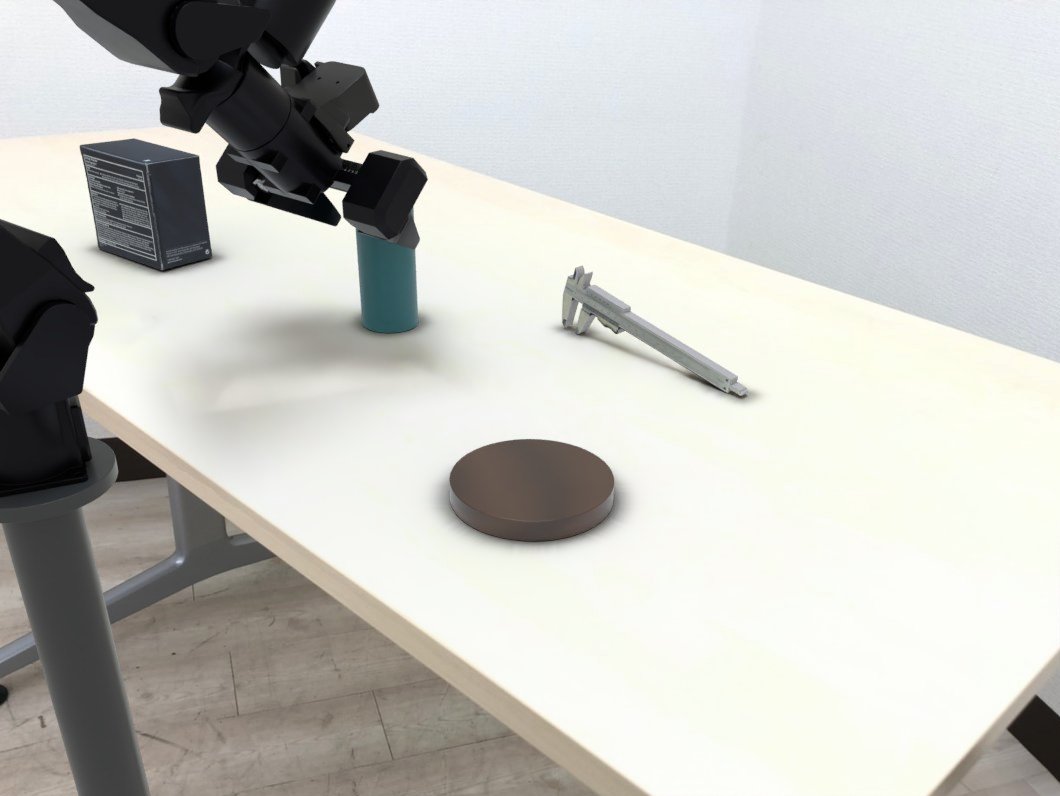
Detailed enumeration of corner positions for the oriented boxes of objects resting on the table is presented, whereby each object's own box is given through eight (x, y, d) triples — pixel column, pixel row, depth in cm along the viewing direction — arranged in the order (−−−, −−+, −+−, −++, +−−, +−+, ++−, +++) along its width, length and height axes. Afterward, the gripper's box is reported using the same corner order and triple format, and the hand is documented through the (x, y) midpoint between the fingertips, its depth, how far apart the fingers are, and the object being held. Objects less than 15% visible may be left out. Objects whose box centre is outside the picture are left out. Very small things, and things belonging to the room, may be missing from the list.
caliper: (560, 329, 97) (562, 263, 94) (568, 326, 98) (571, 261, 95) (741, 399, 86) (750, 328, 83) (748, 395, 87) (757, 324, 84)
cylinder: (371, 336, 92) (362, 189, 86) (355, 316, 96) (344, 173, 89) (426, 328, 95) (420, 184, 88) (407, 309, 98) (401, 170, 92)
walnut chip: (488, 557, 64) (488, 536, 63) (426, 474, 72) (425, 456, 71) (643, 518, 69) (644, 499, 68) (568, 445, 77) (569, 427, 76)
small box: (218, 257, 107) (203, 153, 102) (162, 272, 102) (144, 164, 97) (151, 235, 112) (134, 134, 106) (95, 249, 107) (75, 144, 102)
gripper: (404, 45, 74) (502, 175, 88) (226, 13, 82) (342, 136, 96) (329, 178, 72) (442, 289, 86) (155, 131, 80) (283, 239, 94)
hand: (376, 232), depth 90 cm, fingers open, 9 cm apart
